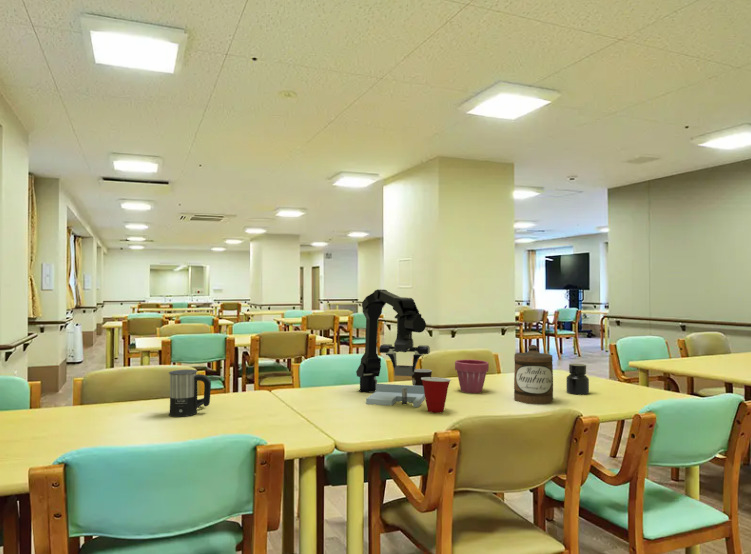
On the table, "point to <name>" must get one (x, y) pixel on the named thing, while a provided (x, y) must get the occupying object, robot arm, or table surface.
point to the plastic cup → (435, 393)
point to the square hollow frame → (403, 370)
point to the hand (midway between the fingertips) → (404, 371)
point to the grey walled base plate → (396, 394)
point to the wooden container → (533, 377)
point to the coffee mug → (420, 376)
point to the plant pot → (471, 374)
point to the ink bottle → (577, 379)
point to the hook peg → (404, 395)
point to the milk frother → (187, 392)
